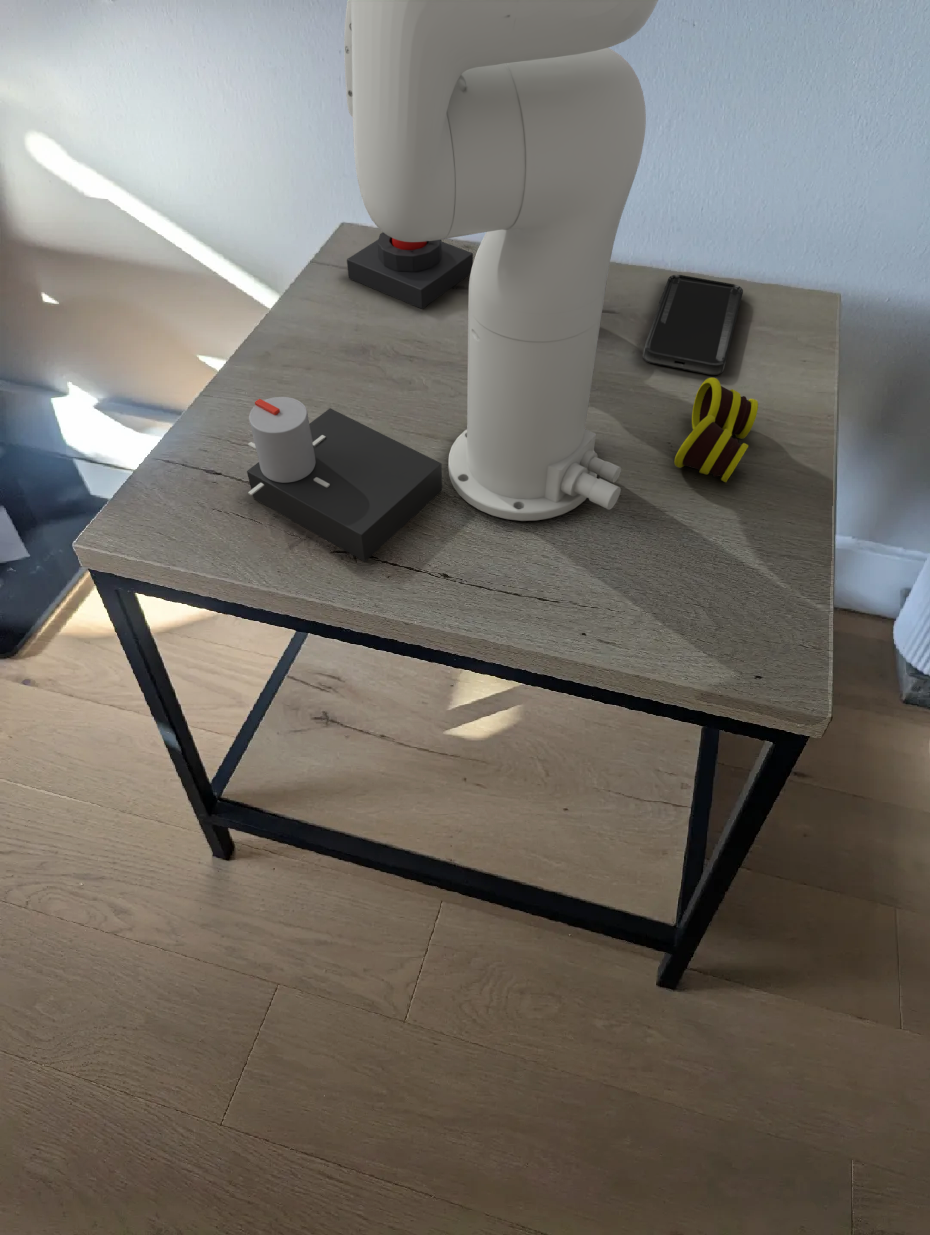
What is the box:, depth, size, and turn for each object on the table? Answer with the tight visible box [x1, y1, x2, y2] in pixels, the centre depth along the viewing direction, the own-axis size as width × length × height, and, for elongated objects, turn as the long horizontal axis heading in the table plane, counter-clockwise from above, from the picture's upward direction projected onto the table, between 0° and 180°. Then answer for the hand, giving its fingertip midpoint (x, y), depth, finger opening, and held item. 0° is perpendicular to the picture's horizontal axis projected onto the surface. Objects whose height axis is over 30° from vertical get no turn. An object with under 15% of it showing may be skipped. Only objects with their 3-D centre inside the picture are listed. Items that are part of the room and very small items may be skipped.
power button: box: [392, 238, 427, 250], centre depth 90 cm, size 4×4×2 cm
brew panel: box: [246, 407, 443, 563], centre depth 70 cm, size 14×12×3 cm
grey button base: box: [346, 231, 474, 310], centre depth 92 cm, size 10×9×4 cm
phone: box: [642, 274, 744, 376], centre depth 87 cm, size 8×1×15 cm
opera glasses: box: [674, 377, 759, 483], centre depth 74 cm, size 10×5×5 cm, turn 159°
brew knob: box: [248, 396, 316, 483], centre depth 67 cm, size 4×4×5 cm
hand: (409, 200), depth 86 cm, fingers closed
